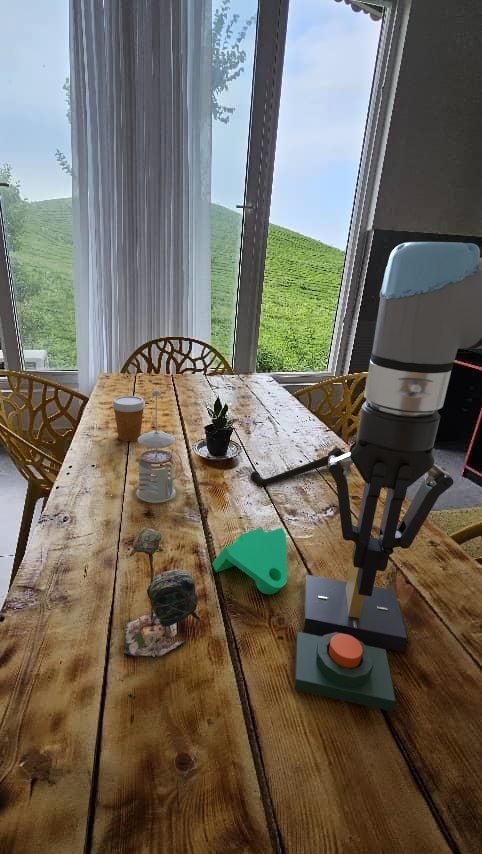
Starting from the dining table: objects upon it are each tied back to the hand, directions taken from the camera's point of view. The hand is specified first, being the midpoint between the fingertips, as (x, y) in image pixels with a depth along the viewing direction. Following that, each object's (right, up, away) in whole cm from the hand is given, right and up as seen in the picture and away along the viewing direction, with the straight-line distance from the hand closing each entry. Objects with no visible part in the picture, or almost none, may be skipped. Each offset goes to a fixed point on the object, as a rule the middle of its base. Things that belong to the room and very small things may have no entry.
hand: (363, 587), depth 55 cm
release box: (-1, -13, +5) cm, 14 cm away
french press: (-30, +5, +48) cm, 56 cm away
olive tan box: (+3, -7, +13) cm, 15 cm away
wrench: (+6, +9, +62) cm, 63 cm away
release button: (-1, -10, +3) cm, 11 cm away
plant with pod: (-26, -11, +10) cm, 29 cm away
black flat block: (+3, -10, +15) cm, 18 cm away
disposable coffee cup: (-42, +18, +79) cm, 91 cm away
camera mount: (-13, 0, +24) cm, 27 cm away
